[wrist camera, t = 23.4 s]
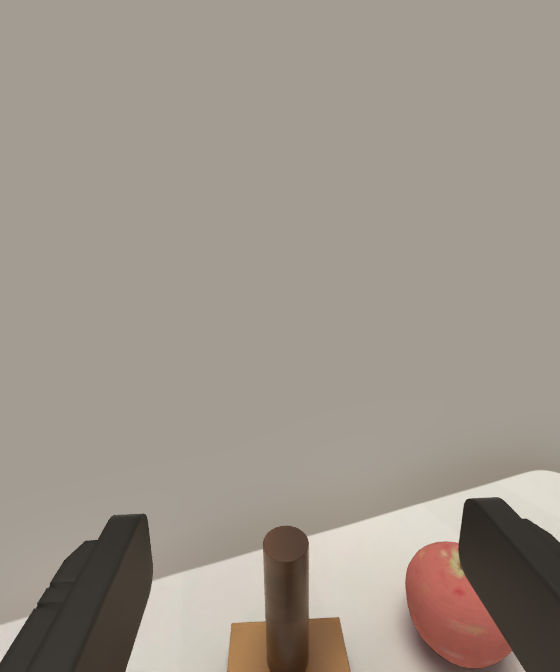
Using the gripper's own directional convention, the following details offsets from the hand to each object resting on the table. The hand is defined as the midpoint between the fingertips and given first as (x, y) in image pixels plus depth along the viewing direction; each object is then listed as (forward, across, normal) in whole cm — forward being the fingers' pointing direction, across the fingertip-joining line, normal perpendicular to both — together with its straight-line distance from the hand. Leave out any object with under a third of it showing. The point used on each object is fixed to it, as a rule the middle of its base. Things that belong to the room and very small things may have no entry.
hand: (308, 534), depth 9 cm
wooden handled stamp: (+11, 0, +22) cm, 25 cm away
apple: (+13, -13, +23) cm, 29 cm away
